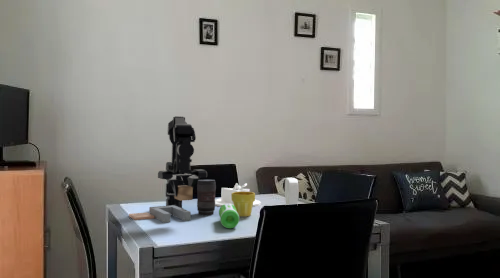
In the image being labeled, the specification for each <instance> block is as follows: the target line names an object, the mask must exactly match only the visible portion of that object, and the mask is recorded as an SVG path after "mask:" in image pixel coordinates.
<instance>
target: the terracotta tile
mask: <svg viewBox="0 0 500 278" xmlns="http://www.w3.org/2000/svg"><path fill="white" fill-rule="evenodd" d="M128 217H130V218H131V219H133V220H135V221H137V220H139V221H140V220H152V219H155V218H154V215H152V214H150V213H149V211H148V212H147V211H146V212H135V213H129V214H128Z"/></svg>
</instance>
